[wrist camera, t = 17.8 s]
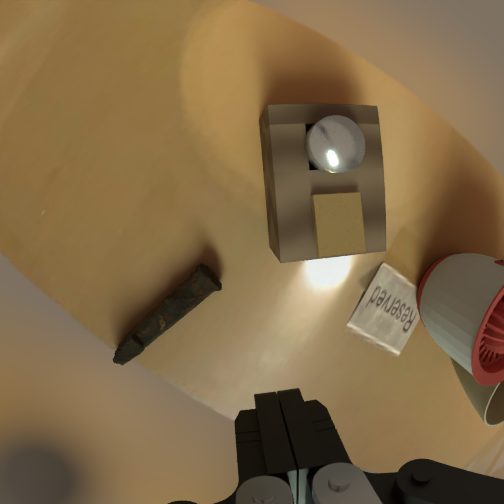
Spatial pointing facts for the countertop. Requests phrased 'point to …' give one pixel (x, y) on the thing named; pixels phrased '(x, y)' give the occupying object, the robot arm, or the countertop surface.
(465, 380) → the plant pot
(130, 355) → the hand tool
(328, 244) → the plate
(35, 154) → the countertop surface
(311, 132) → the reflector light bulb
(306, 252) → the block
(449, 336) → the citrus juicer
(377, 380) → the countertop surface
